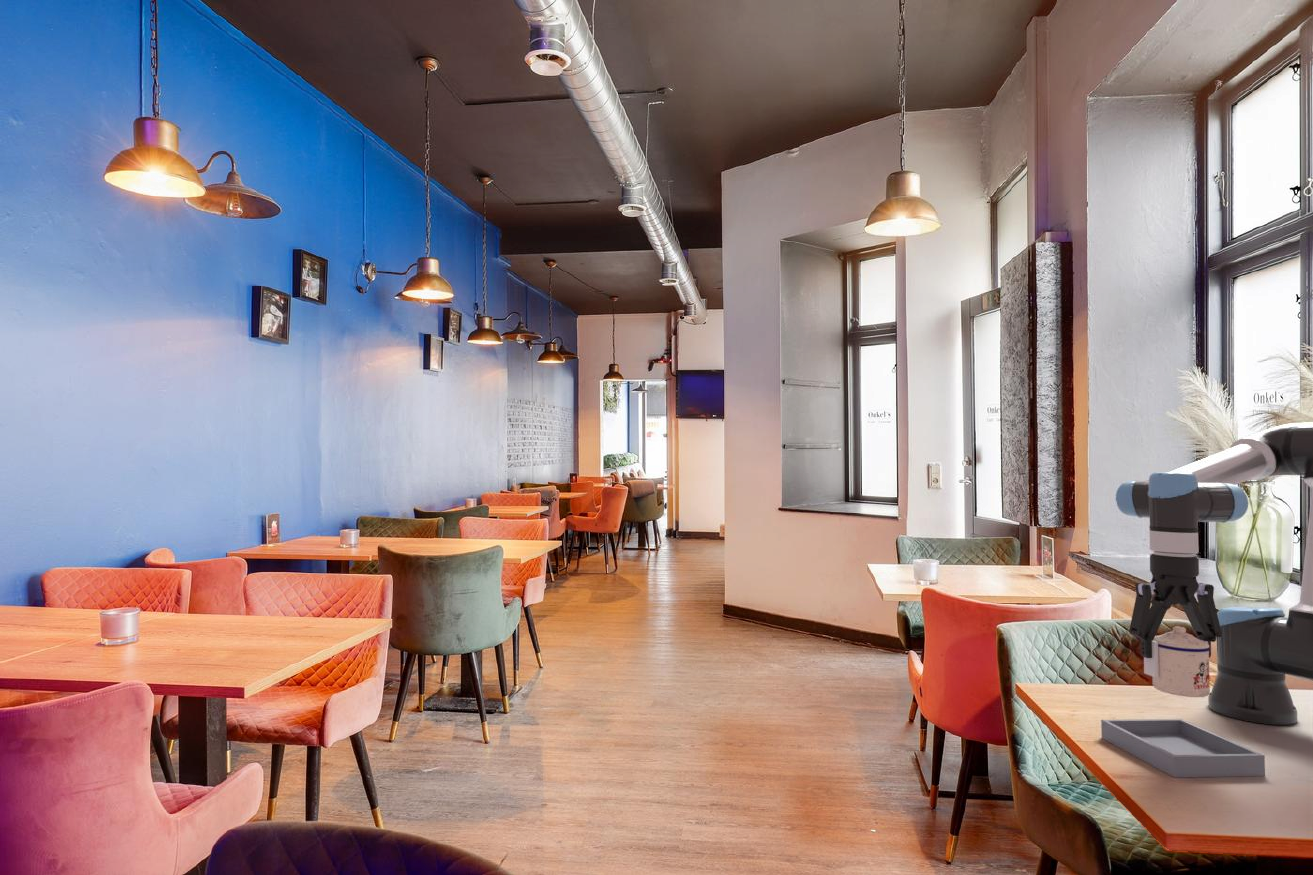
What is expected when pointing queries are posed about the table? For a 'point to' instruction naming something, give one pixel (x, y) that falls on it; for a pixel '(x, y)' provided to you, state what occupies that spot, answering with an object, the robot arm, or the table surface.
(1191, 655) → the teacup with lid
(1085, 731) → the table surface
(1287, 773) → the table surface
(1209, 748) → the tray
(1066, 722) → the table surface
